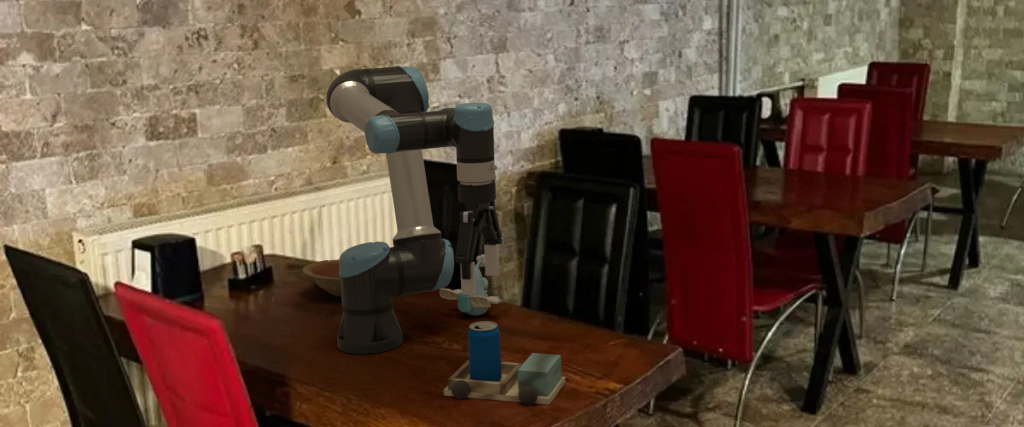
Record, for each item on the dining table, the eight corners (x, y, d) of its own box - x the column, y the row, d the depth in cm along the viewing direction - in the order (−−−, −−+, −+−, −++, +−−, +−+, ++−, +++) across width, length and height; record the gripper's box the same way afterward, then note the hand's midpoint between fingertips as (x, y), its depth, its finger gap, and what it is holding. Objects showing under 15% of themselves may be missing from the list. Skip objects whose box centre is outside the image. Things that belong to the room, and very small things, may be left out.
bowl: (385, 304, 265) (383, 275, 263) (296, 307, 265) (293, 278, 264) (396, 280, 288) (394, 253, 286) (314, 283, 289) (312, 256, 287)
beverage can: (469, 377, 206) (466, 321, 204) (500, 374, 207) (498, 319, 204) (470, 388, 200) (467, 331, 198) (503, 386, 201) (500, 329, 198)
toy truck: (441, 397, 199) (440, 368, 198) (467, 372, 213) (465, 344, 211) (547, 407, 192) (546, 376, 191) (566, 380, 206) (565, 351, 205)
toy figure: (515, 314, 251) (512, 257, 248) (487, 325, 243) (484, 266, 240) (466, 304, 262) (463, 249, 259) (438, 314, 254) (435, 257, 251)
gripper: (471, 194, 185) (476, 304, 190) (514, 170, 208) (517, 269, 213) (434, 193, 187) (440, 301, 192) (480, 170, 210) (484, 267, 215)
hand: (480, 284), depth 202 cm, fingers open, 13 cm apart
